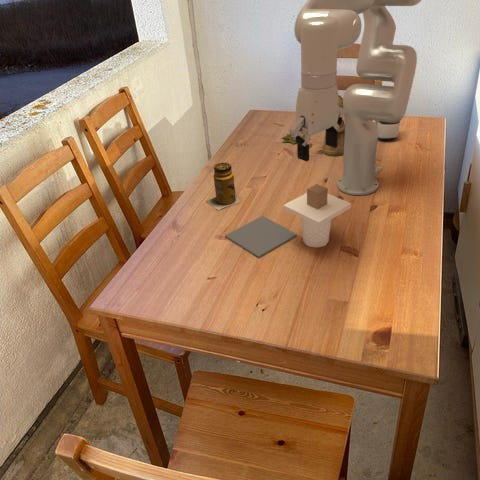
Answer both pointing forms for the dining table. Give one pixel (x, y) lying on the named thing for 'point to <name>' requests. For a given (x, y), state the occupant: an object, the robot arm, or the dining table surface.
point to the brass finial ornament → (341, 136)
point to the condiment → (223, 187)
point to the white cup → (315, 233)
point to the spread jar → (387, 130)
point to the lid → (317, 205)
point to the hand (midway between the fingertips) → (317, 152)
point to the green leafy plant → (291, 138)
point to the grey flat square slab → (260, 236)
